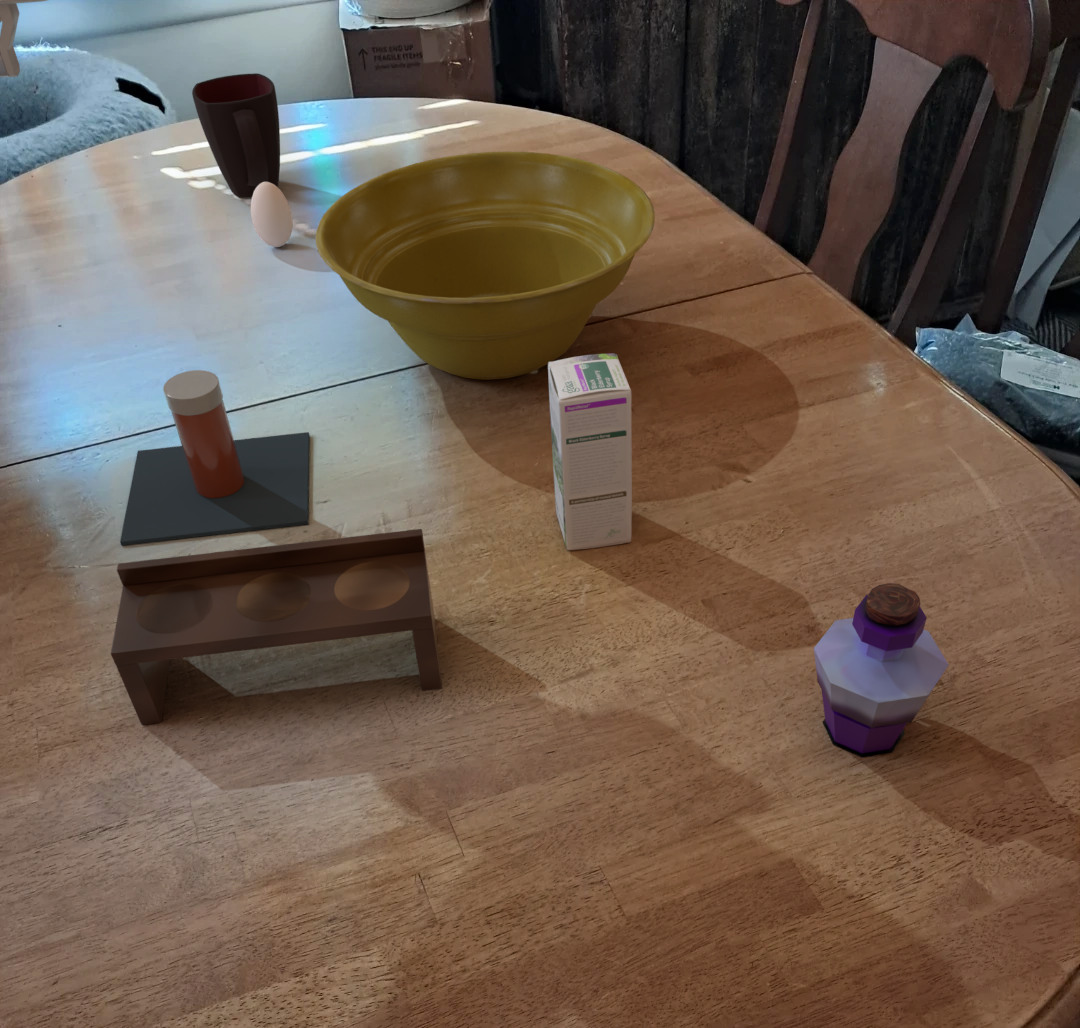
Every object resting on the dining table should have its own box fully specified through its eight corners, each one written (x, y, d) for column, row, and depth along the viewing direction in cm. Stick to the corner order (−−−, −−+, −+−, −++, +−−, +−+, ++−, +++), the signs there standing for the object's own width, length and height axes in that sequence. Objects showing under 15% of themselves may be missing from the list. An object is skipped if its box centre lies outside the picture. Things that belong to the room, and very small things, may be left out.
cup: (284, 167, 154) (265, 69, 145) (307, 207, 145) (287, 105, 136) (210, 181, 152) (186, 82, 143) (228, 222, 143) (204, 119, 134)
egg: (271, 235, 140) (257, 172, 134) (304, 239, 138) (292, 176, 133) (251, 252, 137) (236, 188, 131) (285, 256, 135) (271, 193, 130)
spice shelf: (141, 725, 84) (103, 637, 77) (152, 650, 89) (117, 562, 83) (442, 688, 85) (428, 598, 79) (434, 617, 90) (421, 528, 84)
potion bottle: (927, 692, 83) (965, 561, 74) (927, 782, 77) (968, 652, 68) (805, 677, 84) (828, 546, 76) (796, 764, 79) (819, 634, 70)
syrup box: (633, 543, 96) (636, 387, 85) (563, 553, 95) (558, 397, 85) (619, 503, 100) (620, 349, 89) (551, 512, 99) (545, 358, 89)
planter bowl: (398, 467, 105) (377, 330, 95) (301, 315, 125) (275, 189, 115) (708, 380, 113) (718, 245, 103) (569, 250, 133) (566, 128, 124)
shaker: (192, 501, 102) (160, 401, 95) (196, 472, 105) (165, 372, 98) (244, 495, 102) (216, 395, 95) (246, 466, 105) (220, 367, 98)
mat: (121, 545, 98) (119, 542, 98) (138, 454, 108) (137, 450, 108) (308, 524, 99) (307, 520, 99) (309, 435, 109) (308, 431, 109)
